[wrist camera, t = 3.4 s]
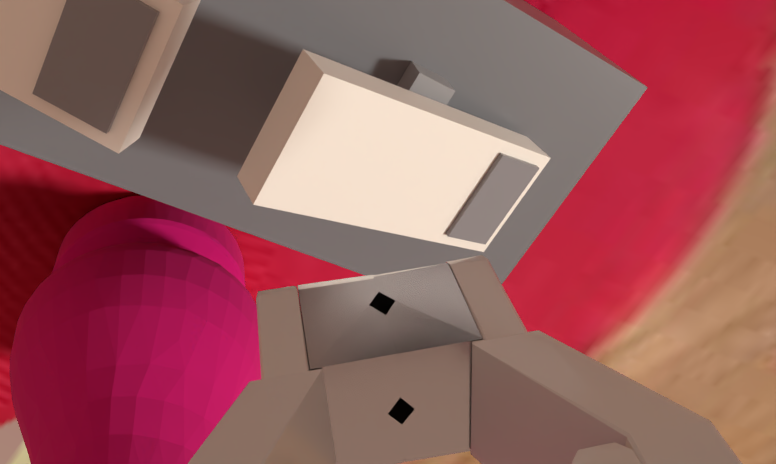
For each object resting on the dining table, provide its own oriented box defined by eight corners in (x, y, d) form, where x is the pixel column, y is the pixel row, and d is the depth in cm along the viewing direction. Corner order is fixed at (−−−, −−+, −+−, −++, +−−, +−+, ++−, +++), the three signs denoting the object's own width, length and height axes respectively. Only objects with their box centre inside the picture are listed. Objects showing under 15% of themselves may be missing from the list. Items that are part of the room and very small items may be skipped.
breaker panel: (427, 213, 27) (486, 333, 21) (-227, -61, 18) (-422, 17, 12) (555, 20, 24) (663, 99, 18) (-159, -419, 15) (-376, -529, 9)
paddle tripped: (463, 228, 19) (486, 255, 19) (237, 176, 15) (255, 208, 14) (526, 136, 18) (554, 160, 18) (302, 48, 14) (326, 76, 13)
